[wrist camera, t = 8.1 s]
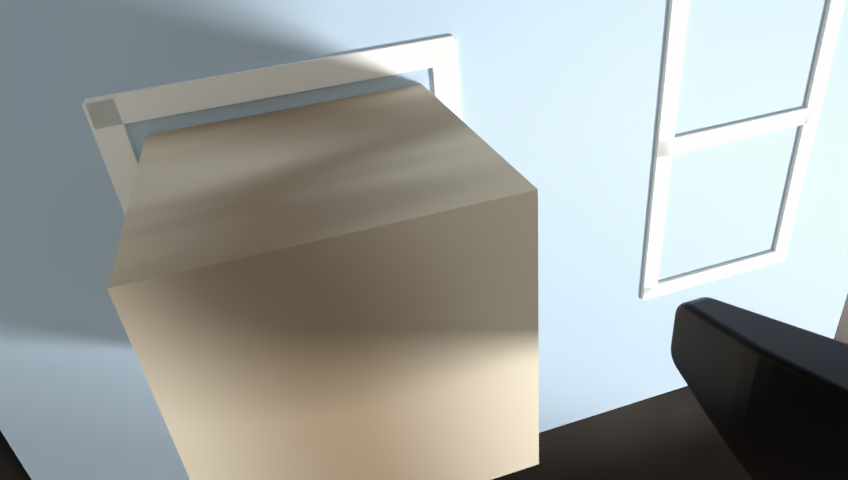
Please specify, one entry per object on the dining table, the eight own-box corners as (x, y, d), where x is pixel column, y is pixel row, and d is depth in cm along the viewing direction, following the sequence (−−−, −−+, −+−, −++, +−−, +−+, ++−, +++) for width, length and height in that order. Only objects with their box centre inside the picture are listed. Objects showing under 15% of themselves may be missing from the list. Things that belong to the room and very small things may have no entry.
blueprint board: (1003, -325, 12) (1044, -336, 11) (818, 328, 20) (836, 341, 20) (-386, -237, 8) (-436, -248, 7) (95, 553, 16) (90, 578, 15)
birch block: (421, 83, 12) (538, 189, 8) (443, 297, 14) (538, 464, 10) (146, 135, 11) (107, 288, 7) (221, 355, 13) (227, 565, 9)
